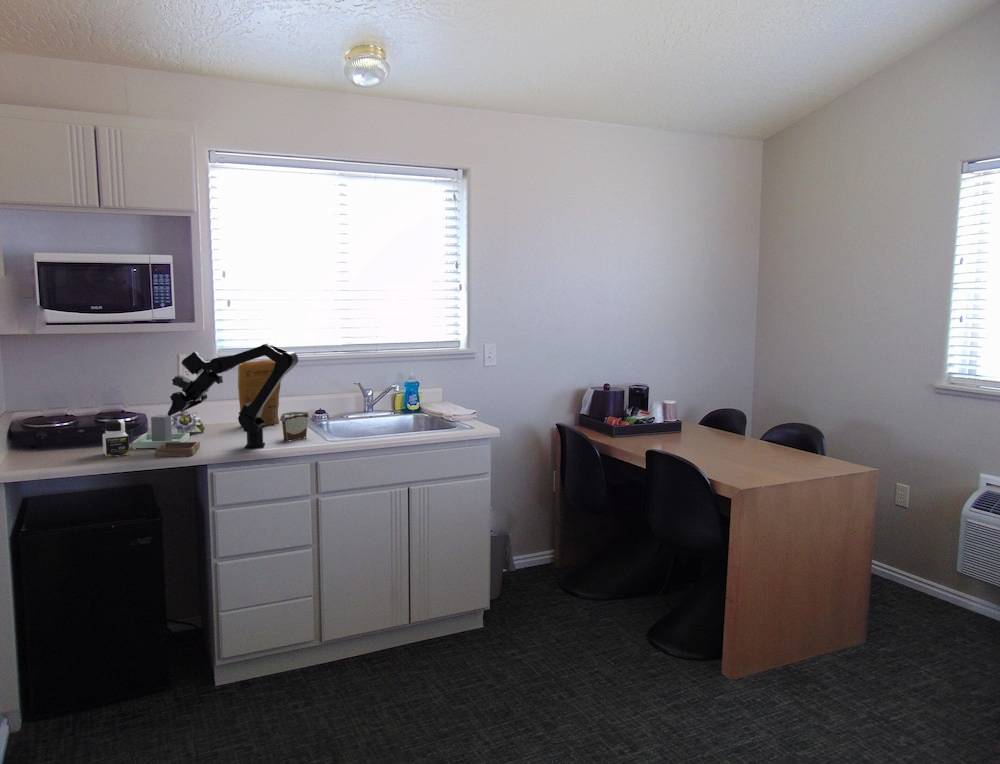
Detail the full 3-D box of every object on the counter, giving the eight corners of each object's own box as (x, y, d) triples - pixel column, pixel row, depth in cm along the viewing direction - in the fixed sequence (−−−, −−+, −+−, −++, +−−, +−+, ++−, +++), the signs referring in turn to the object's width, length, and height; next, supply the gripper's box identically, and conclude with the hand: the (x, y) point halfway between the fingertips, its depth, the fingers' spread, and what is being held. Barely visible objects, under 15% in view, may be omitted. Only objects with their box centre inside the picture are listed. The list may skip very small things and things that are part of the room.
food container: (298, 435, 292) (298, 410, 291) (309, 437, 289) (308, 412, 287) (273, 440, 282) (273, 414, 281) (284, 442, 279) (283, 416, 277)
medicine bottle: (106, 457, 249) (104, 423, 247) (103, 453, 255) (101, 419, 253) (129, 455, 253) (128, 421, 252) (126, 451, 259) (124, 418, 257)
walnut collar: (164, 449, 263) (164, 442, 263) (199, 448, 265) (199, 441, 265) (155, 456, 251) (155, 449, 251) (192, 455, 254) (192, 448, 253)
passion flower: (186, 449, 289) (166, 427, 283) (182, 439, 298) (163, 417, 292) (211, 431, 292) (192, 409, 286) (206, 422, 301) (188, 400, 294)
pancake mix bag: (285, 425, 314) (284, 360, 310) (240, 429, 303) (238, 361, 300) (281, 422, 319) (279, 358, 316) (236, 426, 309) (234, 360, 306)
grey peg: (158, 441, 274) (157, 414, 273) (172, 441, 274) (170, 415, 273) (152, 443, 269) (150, 417, 268) (165, 444, 269) (164, 417, 268)
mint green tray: (144, 440, 278) (144, 433, 277) (189, 439, 281) (189, 432, 281) (132, 449, 262) (132, 442, 262) (180, 448, 265) (179, 441, 265)
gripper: (197, 365, 277) (170, 394, 279) (174, 370, 258) (145, 401, 260) (219, 386, 278) (191, 414, 279) (197, 392, 259) (168, 423, 261)
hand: (174, 413), depth 270 cm, fingers open, 9 cm apart
